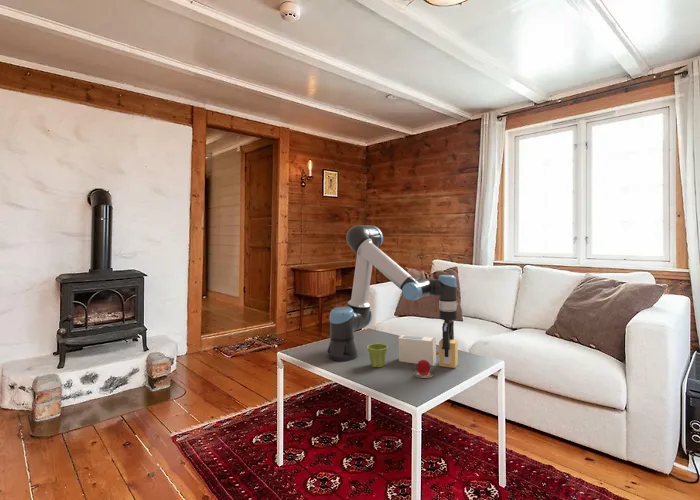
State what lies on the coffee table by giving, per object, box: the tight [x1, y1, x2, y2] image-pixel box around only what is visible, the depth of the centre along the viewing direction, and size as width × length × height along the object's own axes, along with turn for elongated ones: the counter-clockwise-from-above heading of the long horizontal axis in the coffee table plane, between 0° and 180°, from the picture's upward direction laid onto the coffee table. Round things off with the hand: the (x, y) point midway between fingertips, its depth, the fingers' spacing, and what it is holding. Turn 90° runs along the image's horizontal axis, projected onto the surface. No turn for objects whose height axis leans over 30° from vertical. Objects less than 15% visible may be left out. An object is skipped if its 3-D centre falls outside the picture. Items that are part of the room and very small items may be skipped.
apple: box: [413, 360, 434, 379], centre depth 157 cm, size 8×8×6 cm
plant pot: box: [366, 343, 389, 368], centre depth 169 cm, size 9×9×9 cm
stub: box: [438, 338, 459, 369], centre depth 167 cm, size 7×6×11 cm
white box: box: [398, 334, 437, 367], centre depth 174 cm, size 16×6×11 cm, turn 64°
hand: (448, 361), depth 167 cm, fingers closed on stub, 6 cm apart
